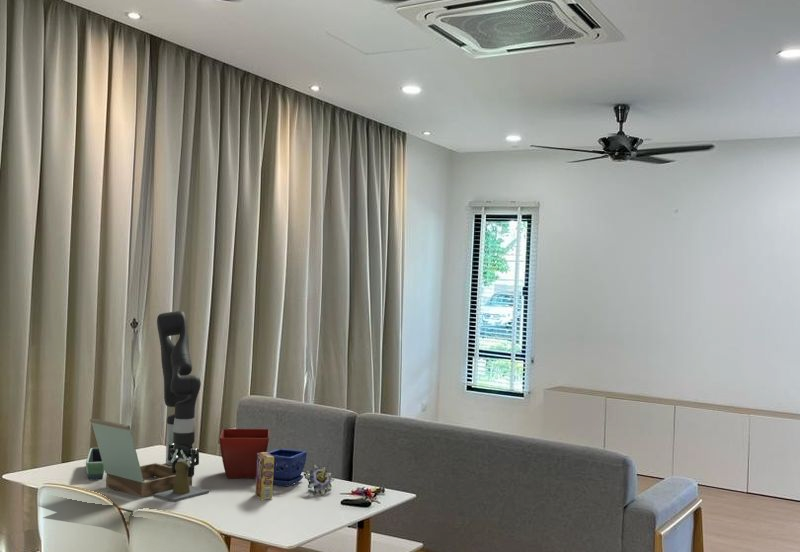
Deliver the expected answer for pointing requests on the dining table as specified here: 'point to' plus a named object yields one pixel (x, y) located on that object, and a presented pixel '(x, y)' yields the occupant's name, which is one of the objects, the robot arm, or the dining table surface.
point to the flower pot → (288, 466)
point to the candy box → (264, 475)
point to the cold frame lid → (117, 449)
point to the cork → (181, 478)
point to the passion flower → (319, 479)
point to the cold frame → (147, 487)
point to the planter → (94, 465)
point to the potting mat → (176, 497)
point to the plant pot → (242, 451)
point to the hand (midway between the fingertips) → (182, 474)
